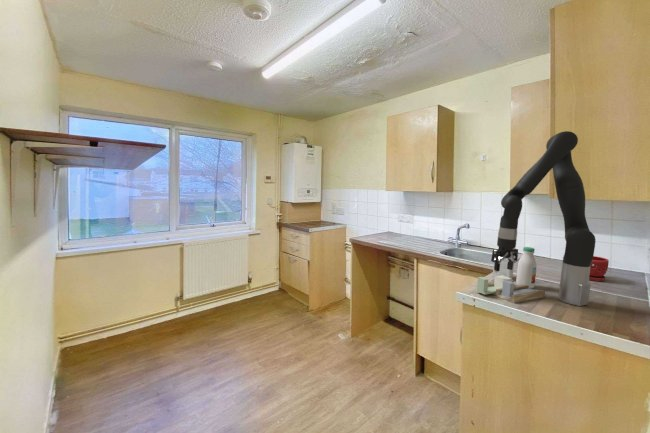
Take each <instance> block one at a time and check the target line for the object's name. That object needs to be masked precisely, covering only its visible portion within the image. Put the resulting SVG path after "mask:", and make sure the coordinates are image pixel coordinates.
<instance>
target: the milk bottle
mask: <svg viewBox="0 0 650 433" xmlns="http://www.w3.org/2000/svg"><path fill="white" fill-rule="evenodd" d="M522 250H523V251H522V252H523V253H522V255H521V256H520V258H519V259H518V264H517V270H516V279H515V281H516V282H515V285H517V286H520V285H529V288H530V289H534V288H535V284H536V276H537V261H536V258H535V255H534V254H535V250H536V249H535V248H534V247H529V246H524V247H523V249H522Z"/></svg>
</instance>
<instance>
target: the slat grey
mask: <svg viewBox="0 0 650 433" xmlns="http://www.w3.org/2000/svg"><path fill="white" fill-rule="evenodd" d="M514 285H515V282H514V283H513V282H510V281H507V280H506V281H503V287H502V293H500V295H502V296H505V297H507V298H510V299H511V295H516V294H522V293H527V292H533V291H536V290H535V289H533V288H527V289H521V290H515V291H514Z"/></svg>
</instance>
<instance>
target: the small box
mask: <svg viewBox="0 0 650 433" xmlns="http://www.w3.org/2000/svg"><path fill="white" fill-rule="evenodd" d="M499 257H500V256H499ZM514 258H515V256H514ZM494 260H495V257H494ZM498 261H499V259H498ZM508 262H509V261H508V259H507V258H506V259H504V260H502V261H501V263H500V270H499V271H495V270H494V266H493V268H492V278H495V276H501V275H503V276H506V277H509V278H512V279H513V278H514V267H515V262H514V263H513V268H512V270H509V269H507V264H508ZM494 264H495V263H494V262H493V265H494Z"/></svg>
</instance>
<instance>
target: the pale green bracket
mask: <svg viewBox="0 0 650 433" xmlns="http://www.w3.org/2000/svg"><path fill="white" fill-rule="evenodd" d="M488 283H489V278H486V277H484V276H478V277H477V284H476V288H475V291H476V292H478V293H480V294H482V295H490V294H491V293H496V289H500V288H497V287H495V286H492V287H488ZM491 295H492V294H491Z"/></svg>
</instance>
